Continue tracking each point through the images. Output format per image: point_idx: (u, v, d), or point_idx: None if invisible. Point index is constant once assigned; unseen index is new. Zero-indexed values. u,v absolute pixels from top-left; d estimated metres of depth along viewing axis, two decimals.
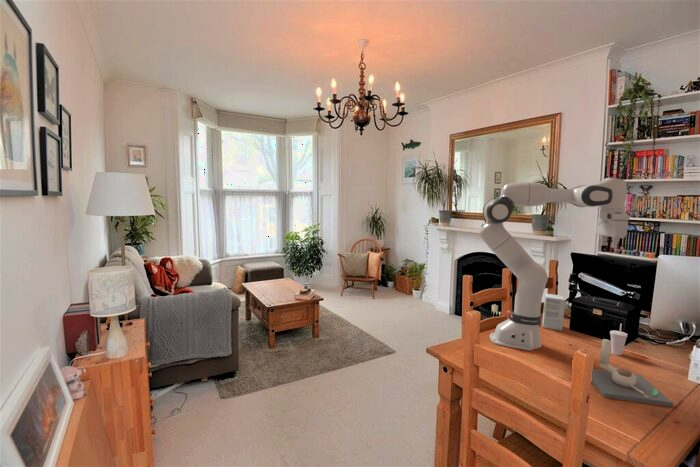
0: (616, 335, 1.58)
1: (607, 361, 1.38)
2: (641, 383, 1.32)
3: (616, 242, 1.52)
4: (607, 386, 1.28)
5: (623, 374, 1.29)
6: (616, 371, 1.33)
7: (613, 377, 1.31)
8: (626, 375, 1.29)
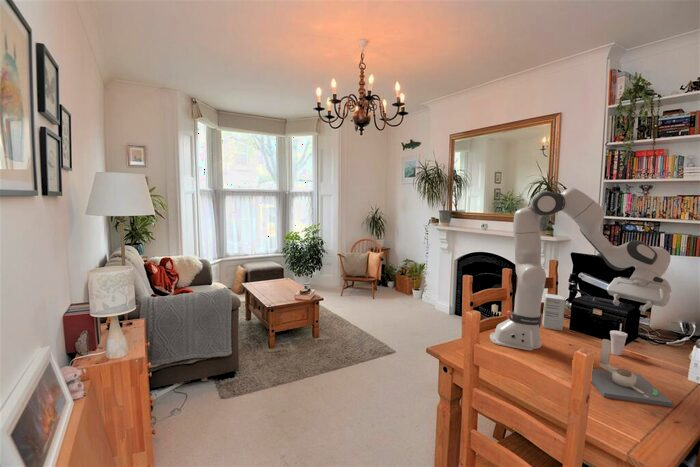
0: (616, 335, 1.58)
1: (607, 361, 1.38)
2: (641, 383, 1.32)
3: (648, 307, 1.39)
4: (607, 386, 1.28)
5: (623, 374, 1.29)
6: (616, 371, 1.33)
7: (613, 377, 1.31)
8: (626, 375, 1.29)
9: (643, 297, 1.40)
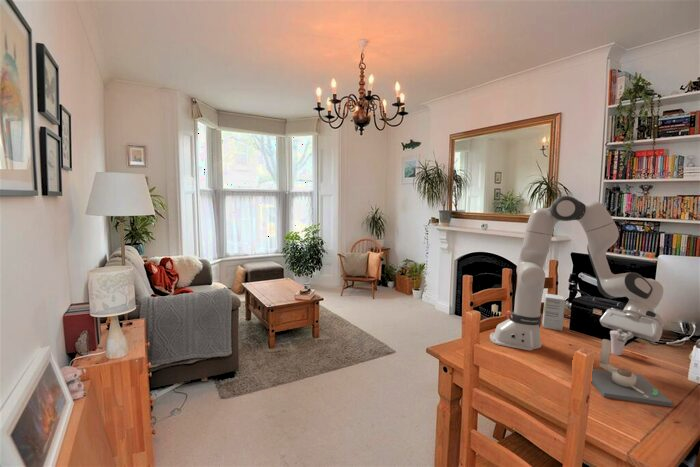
0: (616, 335, 1.58)
1: (607, 361, 1.38)
2: (641, 383, 1.32)
3: (629, 338, 1.42)
4: (607, 386, 1.28)
5: (623, 374, 1.29)
6: (616, 371, 1.33)
7: (613, 377, 1.31)
8: (626, 375, 1.29)
9: (636, 331, 1.40)
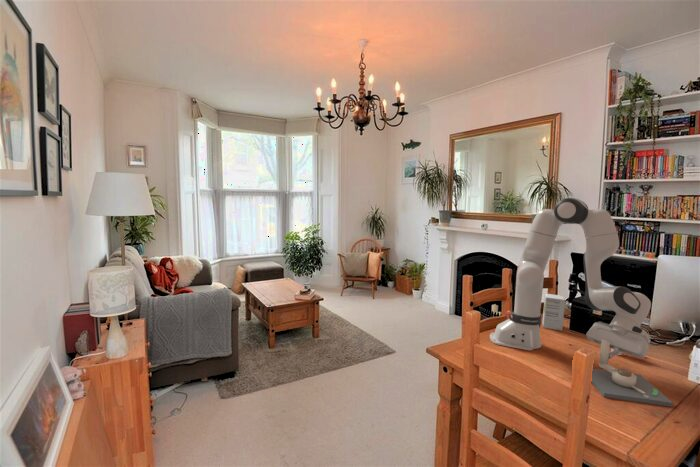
0: None
1: (606, 361, 1.38)
2: (641, 383, 1.32)
3: (615, 353, 1.39)
4: (607, 386, 1.28)
5: (623, 374, 1.29)
6: (616, 371, 1.33)
7: (613, 377, 1.31)
8: (626, 375, 1.29)
9: (622, 347, 1.37)
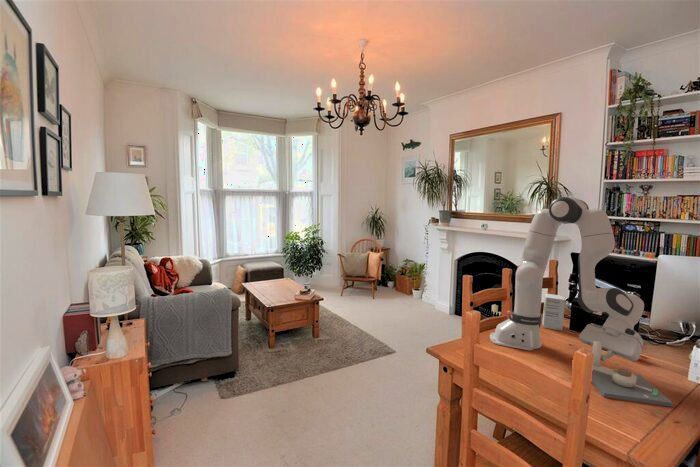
0: None
1: (599, 363, 1.36)
2: (641, 383, 1.32)
3: (609, 356, 1.37)
4: (607, 386, 1.28)
5: (627, 375, 1.29)
6: (616, 372, 1.31)
7: (618, 380, 1.29)
8: (629, 375, 1.29)
9: (614, 350, 1.35)
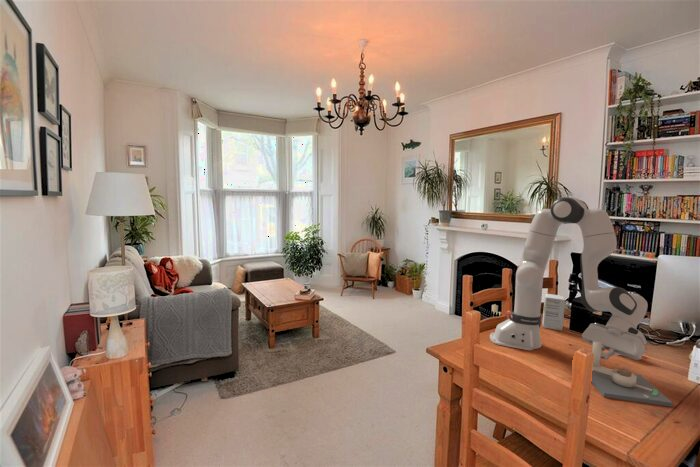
0: None
1: (599, 363, 1.36)
2: (641, 383, 1.32)
3: (611, 355, 1.37)
4: (607, 386, 1.28)
5: (627, 375, 1.29)
6: (616, 373, 1.31)
7: (619, 380, 1.29)
8: (630, 375, 1.29)
9: (617, 348, 1.36)
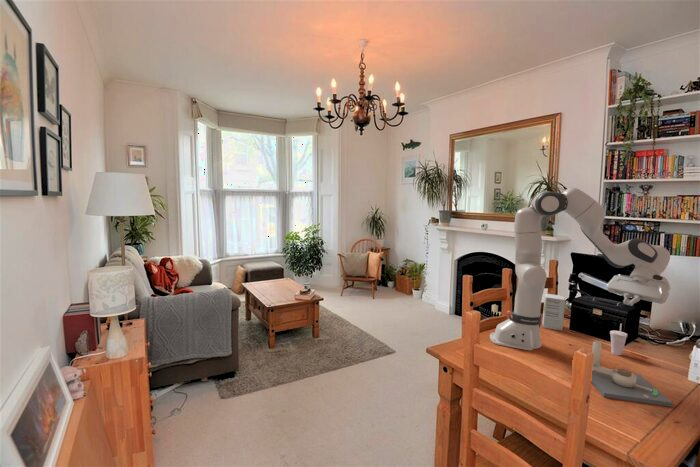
0: (616, 335, 1.58)
1: (599, 363, 1.36)
2: (641, 383, 1.32)
3: (636, 301, 1.45)
4: (607, 386, 1.28)
5: (627, 375, 1.29)
6: (616, 373, 1.31)
7: (619, 380, 1.29)
8: (630, 375, 1.29)
9: (642, 294, 1.43)
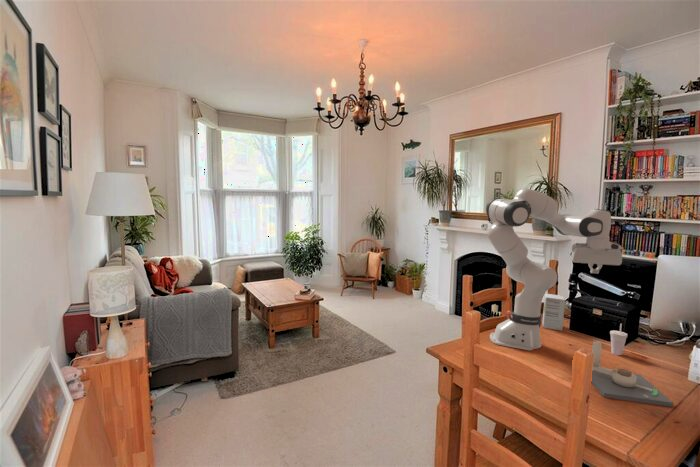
0: (616, 335, 1.58)
1: (599, 363, 1.36)
2: (641, 383, 1.32)
3: None
4: (607, 386, 1.28)
5: (627, 375, 1.29)
6: (616, 373, 1.31)
7: (619, 380, 1.29)
8: (630, 375, 1.29)
9: (606, 263, 1.66)
